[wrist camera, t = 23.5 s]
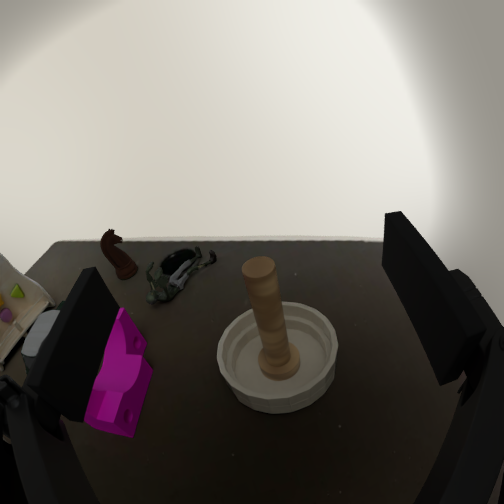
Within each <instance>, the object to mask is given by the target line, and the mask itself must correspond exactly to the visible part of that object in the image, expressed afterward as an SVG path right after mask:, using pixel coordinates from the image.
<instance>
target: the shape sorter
mask: <svg viewBox="0 0 504 504" xmlns="http://www.w3.org/2000/svg"><path fill="white" fill-rule="evenodd" d="M55 305H56V304H55V302H54V300H53V299H52V298H51V296H50V295H49V294H48V293H47V292H46V290H45V289H44V288H43V287H42V286H41V285H39V284H38V283H37V282H35V281H34V280H32V279H30V278H28V277H27V276H25V275H23V274H22V273H20V272H19V271H18V270H17V269H15V268H14V267H13V266H12V265H11V264H10V263H9V261H8V260H7V259H6V258H5V257H4V256H3V255H2V254H1V253H0V370H1V371H3V370H4V367H3V364H4V359H5V358H6V356H7V355H8V354H9V352H10V351H11V350H12V348H13V347H14V346H15V345H16V343H17V342H18V341H19V339H20V338H21V337H22V336H23V337H26V336H27V332H26V331H27V330H28V328H29V327H30V326H31V325H32V324H33V322H34V321H35V320H36V319H37V318H38V316H39V315H40V314H41V313H42V312H43V311H44V310H45V309H46V308H47V307H55ZM2 362H3V364H2Z"/></svg>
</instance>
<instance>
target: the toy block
mask: <svg viewBox="0 0 504 504" xmlns="http://www.w3.org/2000/svg"><path fill="white" fill-rule="evenodd" d="M146 345H147V342H146V341H145V339H144V338H143V336H142V335H141V333H140V332H139V330H138V329H137V327H136V326H135V324H134V323H133V321H132V319H131V318H130V316H129V315H128V313H127V312H126V310H125V308H120V309H119V312H118V315H117V317H116V320H115V323H114V325H113V328H112V331H111V334H110V336H109V339H108V342H107V345H106V348H105V354H104V361H103V365H102V368H101V370H100V373H99V375H98V376H97V378H96V379H95V382H94V385H93V389H92V392H91V395H90V399H89V402H88V406H87V410H86V413H85V417H84V421H85V422H86V423H88V424H89V425H91V426H92V427H93V428H95V429H98V430H102V431H106V432H110V433H114V434H118V435H122V436H127V437H131V438H133V437H134V433H135V430H136V426H137V423H138V419H139V416H140V412H141V409H142V405H143V402H144V399H145V395H146V392H147V389H148V385H149V382H150V379H151V376H152V372H153V369H152V368H151V367H150V365H149V364H148V363H147V361H146V360H145V359H144V358H143V353H144V351H145V348H146Z"/></svg>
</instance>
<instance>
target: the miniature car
mask: <svg viewBox="0 0 504 504" xmlns="http://www.w3.org/2000/svg"><path fill="white" fill-rule="evenodd" d="M64 302H65V301H62V302H61V303H60V304H59V306H58V307H57V309H56V310H48V311H46V312H43V313H41V314H40V315H39V316H38V318H37V320H36V321H35V323H34V325H33V326H32V328H31V330H30V332H29V333H28V335H27V337H26V339H25V342H24V345H23V347H22V350H21V354H22V357H23V360H24V363H25V366H26V374H28V372H29V370H30V367H31V365H32V363H33V360H35V359H34V358H35V356H36V354H37V353H38V349H39V347H40V345H41V343H42V341H43V340H44V339H45V337H46V336H47V335H48V334H49V332H50V330H51V328H52V326H53V324H54V322H55V320H56V318H57V316H58V314H59V312H60V310H61V308H62V306H63V304H64Z"/></svg>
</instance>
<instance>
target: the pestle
mask: <svg viewBox="0 0 504 504" xmlns="http://www.w3.org/2000/svg"><path fill="white" fill-rule="evenodd" d="M242 273H243V277H244V280H245V284H246V288H247V291H248V295H249V299H250V302H251V306H252V309H253V313H254V317H255V320H256V324H257V327H258V331H259V335H260V338H261V342H262V345H263V348H262V349H261V351H260V353H259V355H258V363H259V366H260V369H261V372H262V374H263V375H264V376H265V377H266V378H268V379H270V380H274V381H283V380H287V379H289V378H291V377H293V376H294V375H295V374H296V373H297V372H298V370H299V368H300V354H299V351H298V349H297V347H296V346H295V345H294V344H292V343H290V342H288V336H287V330H286V324H285V318H284V312H283V307H282V301H281V295H280V289H279V284H278V278H277V273H276V267H275V263H274V261H273V260H272V259H271V258H269V257H264V256H260V257H254V258H252V259H250V260H248V261H246V262H245V263H244V265H243V267H242Z"/></svg>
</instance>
